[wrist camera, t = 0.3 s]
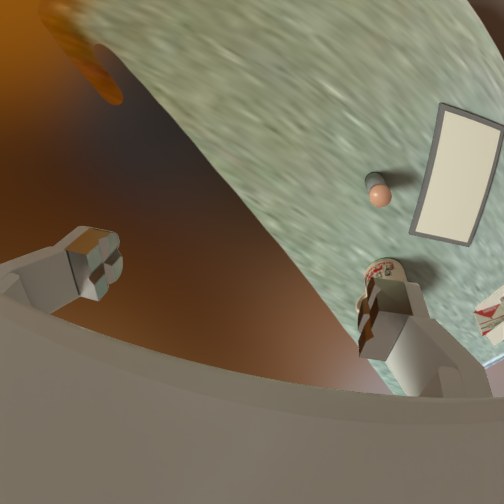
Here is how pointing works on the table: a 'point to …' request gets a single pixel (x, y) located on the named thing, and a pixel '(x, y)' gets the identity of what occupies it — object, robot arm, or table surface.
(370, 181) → the cylinder
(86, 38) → the table surface
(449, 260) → the table surface
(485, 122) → the whiteboard
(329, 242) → the table surface
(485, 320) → the cigarette display
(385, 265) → the teacup with lid
